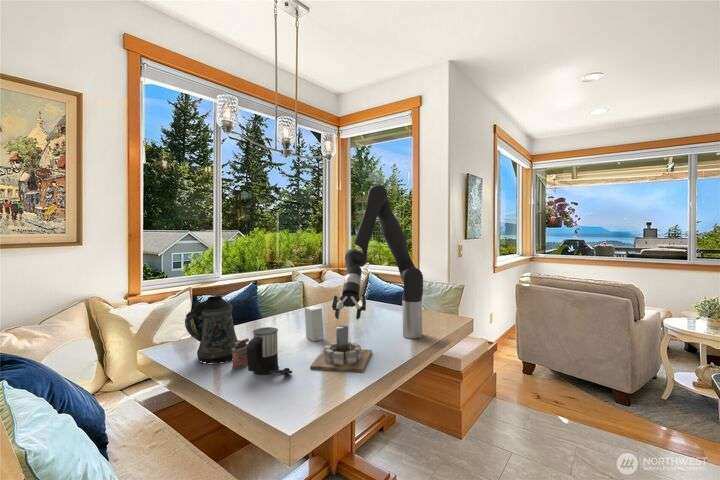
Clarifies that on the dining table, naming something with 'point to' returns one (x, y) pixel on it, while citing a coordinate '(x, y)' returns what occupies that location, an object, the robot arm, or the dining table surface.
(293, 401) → the dining table surface
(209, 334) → the beer stein
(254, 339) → the milk frother
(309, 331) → the skincare box
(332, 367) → the castellated collar
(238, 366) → the lighter
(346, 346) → the metal pin
